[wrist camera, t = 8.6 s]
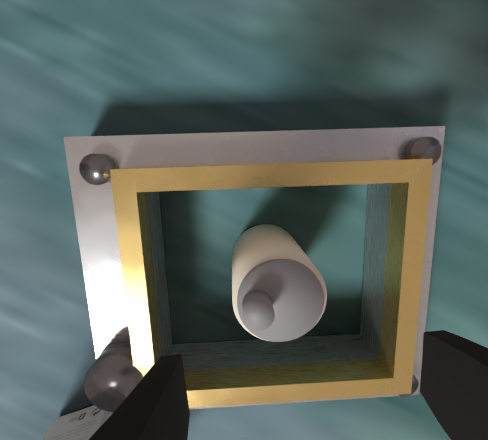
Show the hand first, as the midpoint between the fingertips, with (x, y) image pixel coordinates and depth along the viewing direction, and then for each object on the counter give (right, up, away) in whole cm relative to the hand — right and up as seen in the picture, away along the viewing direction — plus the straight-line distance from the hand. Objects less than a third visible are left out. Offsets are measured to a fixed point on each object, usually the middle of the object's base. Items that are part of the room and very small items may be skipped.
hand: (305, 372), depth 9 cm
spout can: (-1, +2, +9) cm, 9 cm away
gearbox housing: (0, +2, +9) cm, 9 cm away
